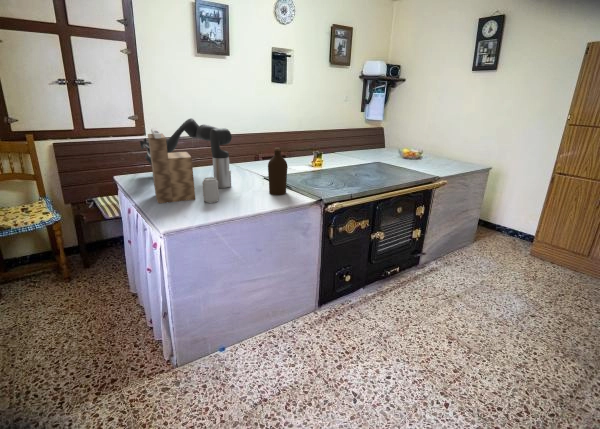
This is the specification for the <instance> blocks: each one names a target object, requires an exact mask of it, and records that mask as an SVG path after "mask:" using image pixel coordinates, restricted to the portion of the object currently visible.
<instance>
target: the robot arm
mask: <svg viewBox="0 0 600 429" xmlns="http://www.w3.org/2000/svg"><path fill="white" fill-rule="evenodd" d="M183 132H185V133H186V134H187V136H189V137H190V138H192V139H199V140H203V141H206V142H210V150H211V156H212V166H213V167H212V171H213V177H214V178H216V180H217V181H218V189H226V188H230V187H232V175H231V174H232V171H231V170H230V156H229V155H230V153H229V151H227V150H223V149H221V146H226V145H228V144H230V143H231V141H232V133H231V132H230V130H229V129H228V128H226V127H225V128H223V127H220V128H218V127H215V126H213V125H212V126H211V125H210V124H200V125H199V124H198V123H197V121H196V120H195V119H194V118H188V119H186V120H185V121H184V122H183V123H182V124H181V125H180V126H179V127H178V128H177V129H176V130H175V131H174V133H172V135H171V136H170V137H169V138H168V139H166V144H167V153H173V152H174V151H175V149H176V148H177V146H178V144H179V139H180V137H181V135H182V133H183ZM139 144H140V145H139V146H140V149H141V150H144V149H145V148H146V152H147V153H146V154H145V156H144V158H145V160H146V161H147V162H148V163H149V164H150V165H151V166H152V163H151V156H150V148H149V140H147V138H146V137H145V138H143V141H142V140H140V141H139Z"/></svg>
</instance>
